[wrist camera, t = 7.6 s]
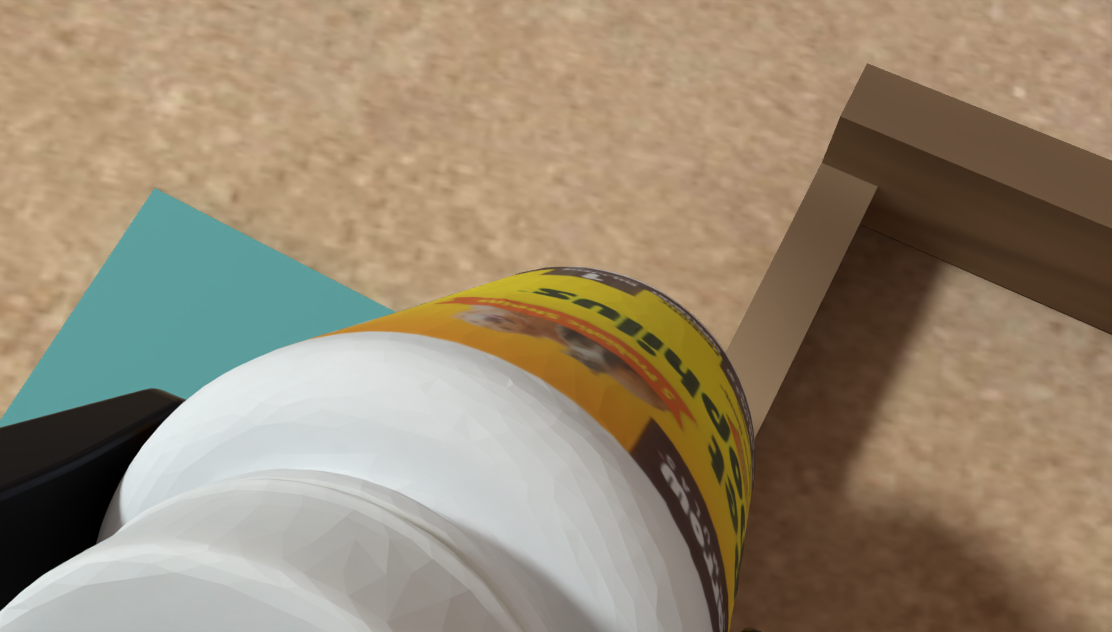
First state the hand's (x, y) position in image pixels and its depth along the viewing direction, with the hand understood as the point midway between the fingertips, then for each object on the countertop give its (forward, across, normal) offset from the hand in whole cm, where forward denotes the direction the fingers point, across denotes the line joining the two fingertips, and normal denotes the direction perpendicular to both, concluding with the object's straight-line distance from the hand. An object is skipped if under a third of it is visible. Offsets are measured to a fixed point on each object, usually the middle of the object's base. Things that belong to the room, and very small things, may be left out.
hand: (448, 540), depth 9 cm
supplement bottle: (+6, 0, +3) cm, 7 cm away
